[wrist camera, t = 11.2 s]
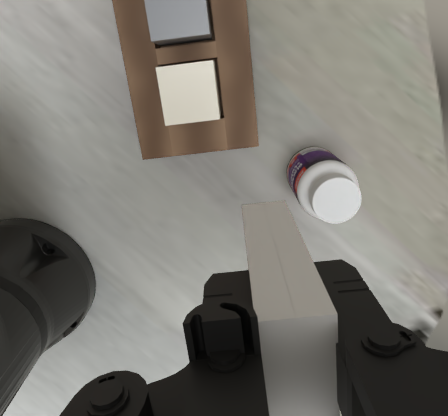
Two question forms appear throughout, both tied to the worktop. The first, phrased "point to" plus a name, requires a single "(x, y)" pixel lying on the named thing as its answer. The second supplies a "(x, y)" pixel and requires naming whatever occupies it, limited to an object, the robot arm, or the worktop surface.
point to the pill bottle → (324, 185)
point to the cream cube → (189, 92)
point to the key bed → (181, 54)
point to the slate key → (178, 21)
